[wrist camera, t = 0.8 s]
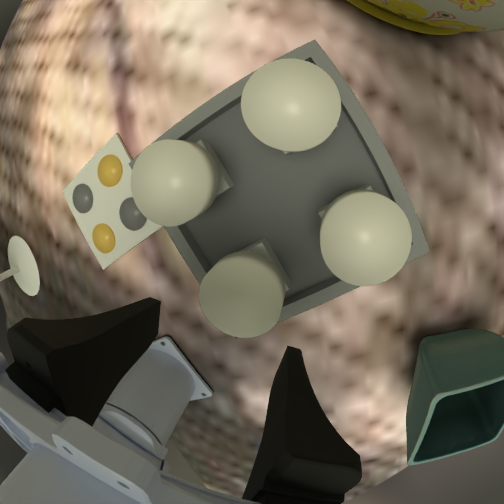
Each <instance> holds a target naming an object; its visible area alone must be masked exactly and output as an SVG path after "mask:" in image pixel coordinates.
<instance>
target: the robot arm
mask: <svg viewBox="0 0 504 504" xmlns="http://www.w3.org/2000/svg"><path fill="white" fill-rule="evenodd" d="M160 304H161V301H158V300H156V299H153V298H151V297H149V298H146V299H143V300H140V301H137V302H135V303H132V304H129V305H126V306H123V307H121V308H118V309H115V310H111V311H108V312H104V313H101V314H97V315H93V316H88V317H82V318H74V319H64V320H42V319H31V318H24V319H22V320H21V321H20V322H18V323H17V324H15V325H14V326H12V327H11V328H9V329H8V331H7V338H8V342H9V345H10V348H11V351H12V354H13V357H14V360H15V362H14V363H13V364H11V365H10V366H9V367H8V364H7V361H6V359H5V357H4V356H3V354H2V353H1V352H0V425H1V426H2V427H3V428H4V429H5V430H6V432H7V433H8V434H9V435H10V436H11V437H12V438H13V439H14V440H15V441H16V442H17V443H18V444H19V445H20V446H21V447H22V448H23V449H24V450H25V451H26V452H27V453H28V454H27V455H26V456H25V457H24V459H23V460H22V461H21V462H20V463H19V464H18V465H17V467H16V468H15V469H14V470H13V471H12V472H11V474H10V475H9V476H8V477H7V478H6V479H5V481H4V482H3V483H2V484H1V485H0V504H341V503H343V502H344V494H345V493H346V492H347V491H349V490H350V489H352V488H353V487H354V486H356V485H357V484H358V483H359V482H360V481H361V478H362V468H361V461H360V455H359V454H358V453H357V452H356V451H355V450H353V449H352V448H351V447H350V446H349V445H348V444H347V443H346V442H345V441H344V439H343V438H342V437H341V436H340V435H339V434H338V432H337V431H336V430H335V428H334V427H333V426H332V424H331V423H330V421H329V420H328V418H327V417H326V415H325V413H324V412H323V410H322V408H321V406H320V404H319V402H318V400H317V398H316V396H315V394H314V391H313V389H312V386H311V384H310V381H309V378H308V375H307V372H306V368H305V365H304V361H303V356H302V352H301V350H300V349H297V348H294V347H291V346H287V349H286V351H285V353H284V356H283V358H282V361H281V363H280V365H279V368H278V370H277V372H276V375H275V378H274V381H273V385H272V388H271V392H270V397H269V403H268V409H267V415H266V421H265V427H264V432H263V437H262V441H261V444H260V447H259V450H258V454H257V457H256V460H255V463H254V466H253V469H252V472H251V475H250V478H249V481H248V484H247V486H246V489H245V492H244V494H243V497H242V499H241V498H237V497H234V496H230V495H227V494H223V493H220V492H217V491H214V490H211V489H208V488H205V487H202V486H199V485H196V484H193V483H191V482H188V481H185V480H183V479H180V478H178V477H175V476H173V475H171V470H170V464H169V462H168V461H167V460H165V459H164V457H165V455H166V453H167V451H168V450H167V449H166V448H165V447H164V446H165V444H166V442H167V441H168V439H169V437H170V435H171V434H172V432H173V430H174V428H175V426H176V425H177V423H178V421H179V419H180V417H181V415H182V414H183V412H184V410H185V408H186V406H187V405H188V403H189V401H192V400H197V399H202V398H207V397H211V396H212V394H213V391H212V390H211V389H210V388H209V386H208V385H207V384H206V383H205V382H204V380H203V379H202V378H201V377H200V375H199V374H198V373H197V372H196V371H195V369H194V368H193V367H192V365H191V364H190V363H189V362H188V360H187V359H186V358H185V356H184V355H183V354H182V353H181V351H180V350H179V349H178V347H177V346H176V345H175V343H174V342H173V341H172V339H171V338H170V337H168V336H165V337H162V338H160V339H157V340H155V341H154V339H155V338H156V336H157V334H158V328H159V315H160ZM163 342H164V343H165V344H164V343H163ZM204 393H205V394H204Z"/></svg>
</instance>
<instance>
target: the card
mask: <svg viewBox="0 0 504 504" xmlns="http://www.w3.org/2000/svg"><path fill="white" fill-rule="evenodd" d="M131 161H132V158H131V156H130V155H129V153H128V151H127V149H126V147H125V145H124V143H123V141H122V139H121V138H120V136H119V134H118V133H116V134H115V135H114V136H113V137H112V138H111V139H110V140H109V141H108V142H107V143H106V144H105V145H104V146H103V147H102V148H101V149H100V150H99V151H98V152H97V153H96V154H95V156H94V157H93V158H92V159H91V160H90V161H89V162H88V163H87V164H86V165H85V166H84V168H83V169H82V170H81V171H80V172H79V173H78V174H77V176H76V177H75V178H74V179H73V180H72V181H71V183H70V184H69V185H68V186H67V187H66V189H65V190H64V191H63V194H64V196H65V198H66V201H67V203H68V205H69V207H70V209H71V211H72V213H73V215H74V217H75V219H76V221H77V223H78V225H79V227H80V229H81V231H82V233H83V235H84V236H85V238H86V240H87V242H88V244H89V246H90V247H91V249H92V251H93V253H94V255H95V256H96V258H97V260H98V262H99V263H100V265H101V267H102V268H103V270H104V269H105V268H107V267H108V266H109V265H111V264H112V263H113V262H114V261H116V260H117V259H118V258H120V257H121V256H123V255H124V254H125V253H127V252H128V251H129V250H131V249H132V248H133V247H135V246H136V245H138V244H139V243H140V242H142V241H143V240H145V239H146V238H147V237H149V236H150V235H152V234H153V233H154V232H156V231H157V230H159V229H160V228H162V227H163V226H161V225H158V224H155V223H153V222H152V221H150V220H149V219H147V218H146V217H145V216H144V215H143V214H142V213H141V212H140V210H139V209H138V207H137V206H136V203H135V201H134V199H133V196H132V191H131V174H132V169H131V167H130V166H129V163H130V162H131Z"/></svg>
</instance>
